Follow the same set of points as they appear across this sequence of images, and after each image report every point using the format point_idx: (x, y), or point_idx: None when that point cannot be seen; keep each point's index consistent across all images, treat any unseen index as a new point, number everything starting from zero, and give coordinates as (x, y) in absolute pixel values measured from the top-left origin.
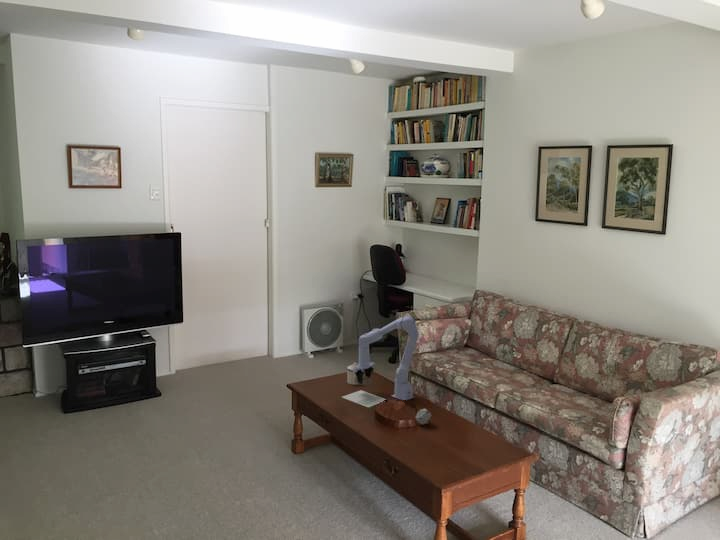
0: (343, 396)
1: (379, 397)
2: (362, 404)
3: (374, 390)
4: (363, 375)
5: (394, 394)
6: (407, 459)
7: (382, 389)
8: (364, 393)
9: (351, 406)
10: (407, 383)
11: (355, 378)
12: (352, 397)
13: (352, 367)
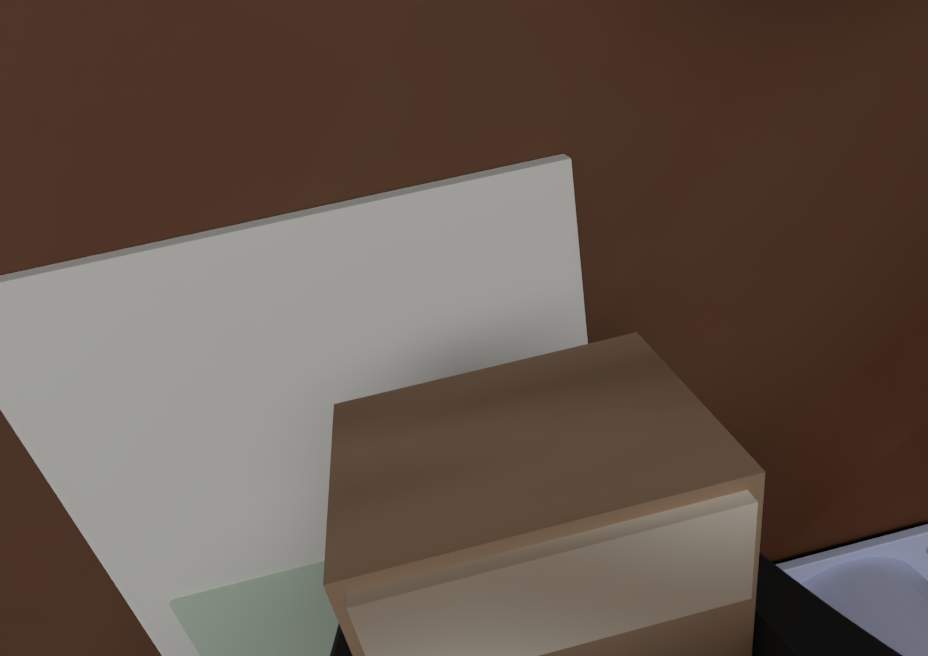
0: (1, 294)
1: None
2: None
3: (786, 260)
4: (725, 595)
5: (821, 565)
6: None
7: (913, 289)
8: (508, 356)
9: (25, 651)
10: None
11: (330, 539)
12: (182, 421)
13: None
